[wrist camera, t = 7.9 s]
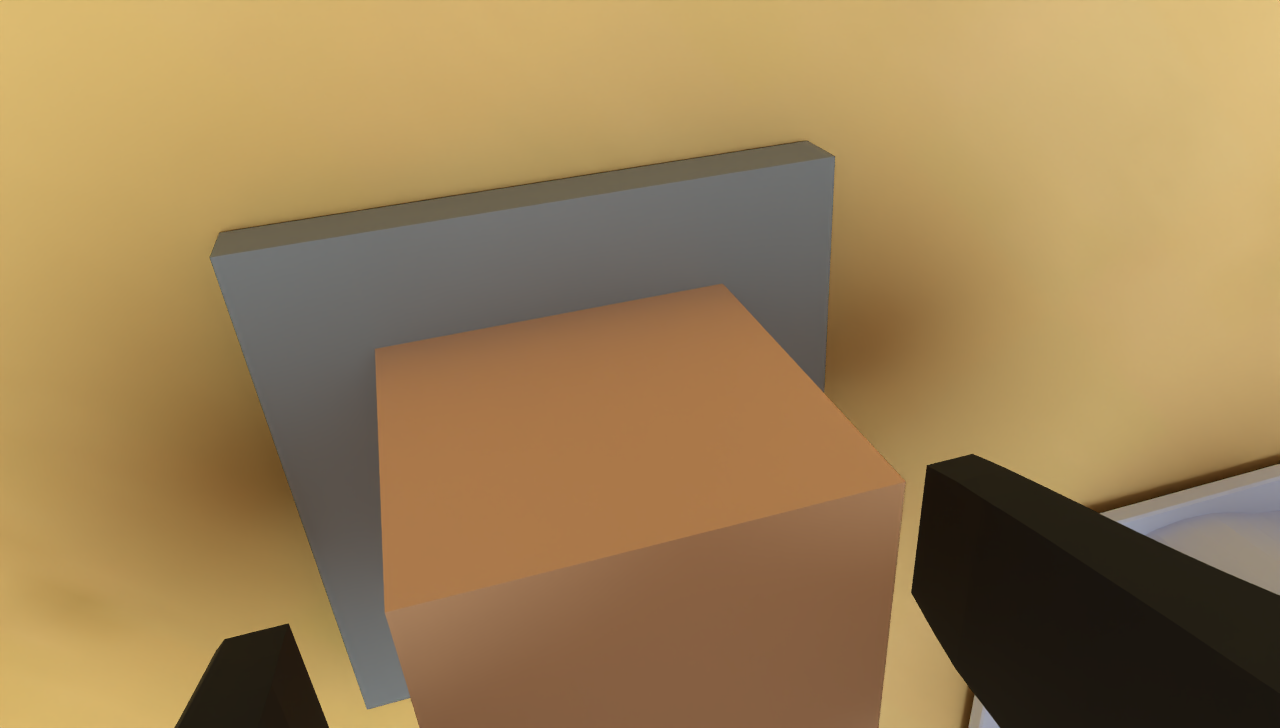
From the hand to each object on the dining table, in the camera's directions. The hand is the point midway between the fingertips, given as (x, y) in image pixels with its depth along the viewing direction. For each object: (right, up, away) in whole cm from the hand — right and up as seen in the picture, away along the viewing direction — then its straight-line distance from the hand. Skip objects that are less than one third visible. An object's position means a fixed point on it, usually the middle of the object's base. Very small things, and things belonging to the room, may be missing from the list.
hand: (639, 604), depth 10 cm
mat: (-1, +2, +3) cm, 4 cm away
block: (-1, +1, +2) cm, 3 cm away
